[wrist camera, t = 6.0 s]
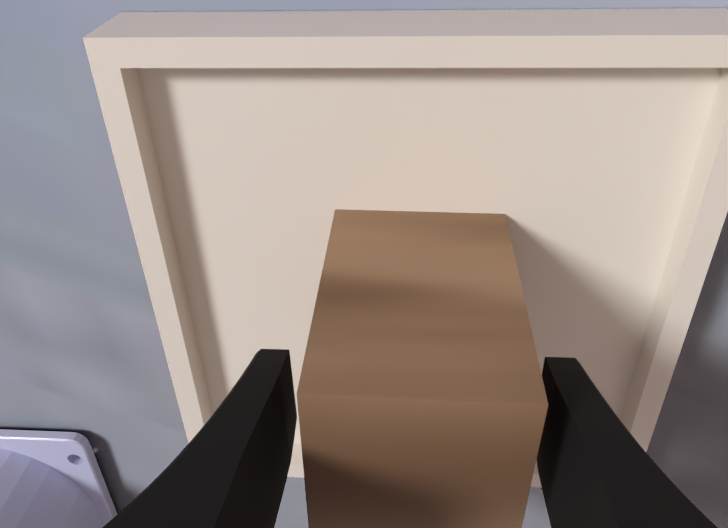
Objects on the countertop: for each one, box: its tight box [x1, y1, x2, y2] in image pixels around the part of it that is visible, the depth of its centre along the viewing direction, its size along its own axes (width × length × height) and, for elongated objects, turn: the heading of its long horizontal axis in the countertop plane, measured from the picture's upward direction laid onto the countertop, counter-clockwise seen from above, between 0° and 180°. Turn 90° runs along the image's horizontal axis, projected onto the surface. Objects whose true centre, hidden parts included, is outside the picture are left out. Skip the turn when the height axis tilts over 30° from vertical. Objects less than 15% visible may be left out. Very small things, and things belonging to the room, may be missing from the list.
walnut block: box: [297, 209, 548, 528], centre depth 14 cm, size 4×4×6 cm
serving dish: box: [83, 8, 728, 487], centre depth 17 cm, size 13×13×2 cm
